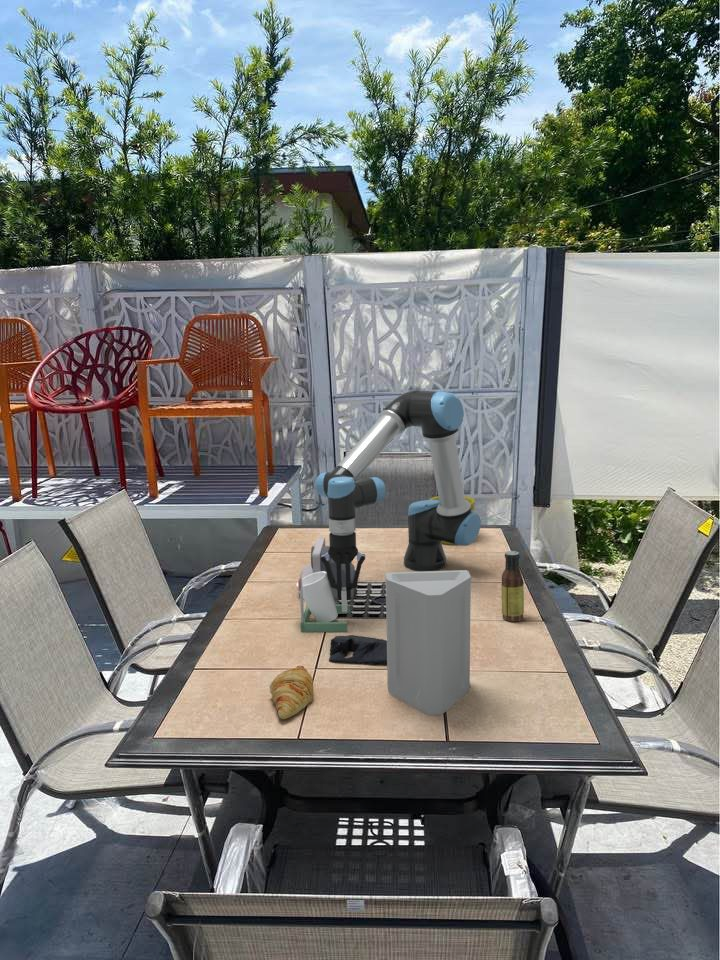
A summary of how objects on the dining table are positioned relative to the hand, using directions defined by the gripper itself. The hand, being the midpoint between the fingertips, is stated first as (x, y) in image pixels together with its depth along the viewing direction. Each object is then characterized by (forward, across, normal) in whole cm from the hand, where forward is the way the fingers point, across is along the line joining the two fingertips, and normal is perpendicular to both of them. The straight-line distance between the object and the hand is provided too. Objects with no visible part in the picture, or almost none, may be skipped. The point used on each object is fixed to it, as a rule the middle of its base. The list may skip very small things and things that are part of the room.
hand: (344, 610), depth 204 cm
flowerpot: (+3, +37, +79) cm, 88 cm away
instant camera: (+4, -7, +28) cm, 29 cm away
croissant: (+4, -9, -43) cm, 44 cm away
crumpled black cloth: (+5, +9, -20) cm, 22 cm away
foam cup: (+3, -5, 0) cm, 6 cm away
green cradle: (+4, -5, -1) cm, 7 cm away
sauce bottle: (+4, +48, +2) cm, 49 cm away
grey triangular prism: (+4, +23, -43) cm, 48 cm away
